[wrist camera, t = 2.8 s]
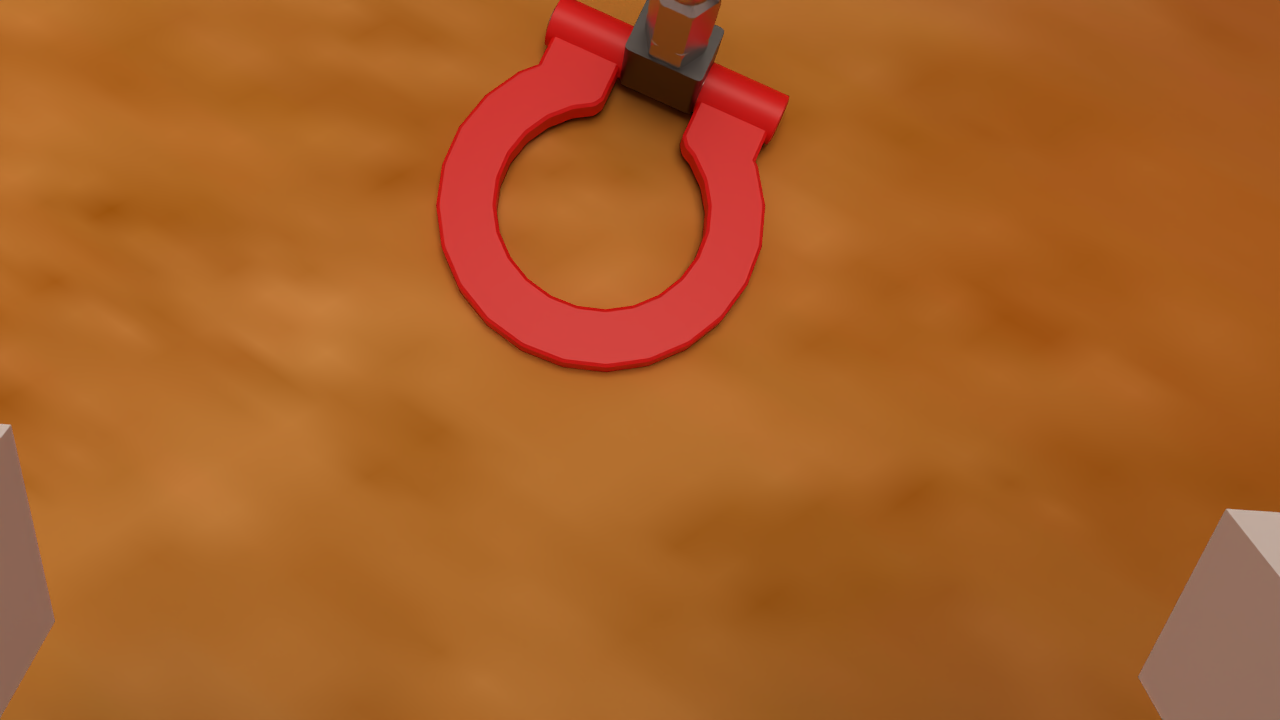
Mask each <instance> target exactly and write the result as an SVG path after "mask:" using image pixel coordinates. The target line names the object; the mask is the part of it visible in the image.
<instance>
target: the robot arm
mask: <svg viewBox="0 0 1280 720" xmlns="http://www.w3.org/2000/svg"><path fill="white" fill-rule="evenodd" d="M54 622H55V619H54V615H53V610H52V606H51V601H50V597H49V592H48V588H47V583H46V579H45V574H44V570H43V566H42V561H41V557H40V552H39V548H38V543H37V539H36V534H35V530H34V525H33V521H32V516H31V512H30V508H29V503H28V499H27V494H26V490H25V485H24V481H23V476H22V472H21V467H20V463H19V458H18V454H17V449H16V445H15V441H14V436H13V432H12V427H11V425H7V424H0V717H1V716H2V714H3V712H4V710H5V709H6V707H7V705H8V703H9V701H10V700H11V698H12V696H13V694H14V693H15V691H16V689H17V687H18V686H19V684H20V682H21V680H22V679H23V677H24V675H25V673H26V671H27V670H28V668H29V666H30V664H31V663H32V661H33V659H34V657H35V656H36V654H37V652H38V650H39V648H40V647H41V645H42V643H43V641H44V640H45V638H46V636H47V634H48V633H49V631H50V629H51V627H52V626H53V624H54ZM1138 678H1139V679H1140V681H1141V683H1142V685H1143V687H1144V688H1145V690H1146V692H1147V694H1148V695H1149V697H1150V699H1151V701H1152V702H1153V704H1154V706H1155V708H1156V710H1157V711H1158V713H1159V715H1160V717H1161V718H1162V720H1280V513H1279V512H1265V511H1250V510H1236V509H1226V510H1225V512H1224V513H1223V515H1222V517H1221V519H1220V521H1219V523H1218V525H1217V527H1216V529H1215V531H1214V533H1213V534H1212V536H1211V538H1210V540H1209V542H1208V544H1207V546H1206V548H1205V550H1204V552H1203V554H1202V555H1201V557H1200V559H1199V561H1198V563H1197V565H1196V567H1195V569H1194V571H1193V573H1192V575H1191V576H1190V578H1189V580H1188V582H1187V584H1186V586H1185V588H1184V590H1183V592H1182V594H1181V596H1180V598H1179V599H1178V601H1177V603H1176V605H1175V607H1174V609H1173V611H1172V613H1171V615H1170V617H1169V619H1168V620H1167V622H1166V624H1165V626H1164V628H1163V630H1162V632H1161V634H1160V636H1159V638H1158V640H1157V641H1156V643H1155V645H1154V647H1153V649H1152V651H1151V653H1150V655H1149V657H1148V659H1147V661H1146V662H1145V664H1144V666H1143V668H1142V670H1141V672H1140V674H1139V676H1138Z"/></svg>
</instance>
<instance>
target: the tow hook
mask: <svg viewBox="0 0 1280 720" xmlns="http://www.w3.org/2000/svg"><path fill="white" fill-rule="evenodd" d="M720 5H721V0H647V1H646V3H645V5H644V7H643V9H642V11H641V13H640V15H639V17H638V19H637V22H636V24H635V26H632V25H630V24H627V23H625V22H623V21H621V20H618V19H616V18H614V17H612V16H610V15H607V14H605V13H603V12H601V11H598V10H596V9H594V8H592V7H590V6H587V5H585V4H583V3H581V2H578V1H576V0H560V1H559V3H558V4H557V6H556V8H555V9H554V11H553V13H552V15H551V18H550V20H549V23H548V27H547V31H546V37H545V45H546V46H548V47H547V49H546V51H545V53H544V55H543V57H542V59H541V61H540V63H539V64H538V65H535V66H533V67H530V68H527V69H525V70H522V71H519V72H518V73H516V74H515V75H514V76H512V77H511V78H509V79H508V80H506V81H505V82H504V83H502V84H501V85H499V86H498V87H496V88H495V89H494V90H492V91H491V92H489V93H488V94H487V95H485V96H484V98H483V99H482V100H481V101H480V102H479V104H478V105H477V106H476V107H475V108H474V110H473V111H472V112H471V113H470V114H469V116H468V117H467V118H466V119H465V120H464V122H463V123H462V124H461V125H460V126H459V128H458V131H457V133H456V135H455V137H454V139H453V142H452V144H451V146H450V148H449V151H448V153H447V155H446V157H445V160H444V162H443V164H442V170H441V177H440V184H439V190H438V197H437V204H436V207H437V214H438V222H439V230H440V237H441V245H442V249H443V252H444V255H445V257H446V260H447V262H448V264H449V267H450V269H451V271H452V274H453V276H454V278H455V281H456V283H457V285H458V288H459V290H460V292H461V293H462V295H463V296H464V297H465V298H466V300H467V301H468V302H469V303H470V305H471V306H472V307H473V308H474V310H475V311H476V312H477V313H478V315H479V316H480V317H481V318H482V320H483V321H484V322H485V323H486V325H487V326H489V327H490V328H491V329H493V330H494V331H496V332H497V333H498V334H500V335H501V336H502V337H504V338H505V339H506V340H508V341H509V342H511V343H512V344H513V345H515V346H516V347H517V348H519V349H520V350H521V351H524V352H526V353H529V354H531V355H534V356H536V357H539V358H541V359H544V360H546V361H549V362H551V363H554V364H557V365H559V366H562V367H568V368H577V369H585V370H593V371H601V372H609V371H616V370H623V369H630V368H637V367H644V366H649V365H651V364H653V363H656V362H658V361H660V360H663V359H665V358H668V357H670V356H672V355H675V354H677V353H679V352H682V351H684V350H686V349H688V348H689V347H690V346H691V345H693V344H694V343H695V342H697V341H698V340H699V339H700V338H702V337H703V336H704V335H705V334H707V333H708V332H709V331H710V330H712V329H713V328H714V327H715V326H717V325H718V324H719V323H720V322H721V320H722V319H723V318H724V316H725V315H726V314H727V312H728V311H729V309H730V308H731V307H732V305H733V304H734V303H735V301H736V300H737V299H738V297H739V296H740V294H741V293H742V292H743V290H744V289H745V288H746V286H747V285H748V282H749V279H750V277H751V274H752V271H753V269H754V266H755V263H756V260H757V258H758V255H759V252H760V250H761V247H762V237H763V225H764V213H765V203H764V198H763V192H762V187H761V182H760V176H759V171H758V166H757V164H756V162H755V161H756V159H757V156H758V154H759V152H760V150H761V147H762V145H763V143H765V144H768V143H769V142H770V141H771V139H772V137H773V135H774V133H775V131H776V129H777V127H778V124H779V122H780V120H781V118H782V116H783V113H784V111H785V109H786V106H787V104H788V101H789V96H788V95H786V94H783V93H781V92H779V91H777V90H774V89H772V88H770V87H768V86H765V85H763V84H761V83H759V82H757V81H754V80H752V79H750V78H748V77H745V76H743V75H741V74H739V73H737V72H734V71H732V70H730V69H728V68H725V67H723V66H721V65H719V64H716V63H714V60H715V57H716V55H717V52H718V49H719V46H720V43H721V40H722V37H723V34H724V30H723V29H722V28H721V27H719V26H716V25H714V24H715V21H716V18H717V15H718V12H719V8H720ZM617 78H620V82H621V84H623V85H624V86H626V87H629V88H631V89H633V90H635V91H637V92H640V93H642V94H644V95H646V96H649V97H651V98H653V99H655V100H658V101H660V102H662V103H664V104H666V105H669V106H671V107H673V108H675V109H678V110H680V111H682V112H684V113H687V114H690V113H692V111H694V112H693V115H692V117H691V119H690V121H689V123H688V126H687V128H686V130H685V132H684V134H683V137H682V140H681V143H680V149H681V154H682V156H683V157H684V159H685V160H686V161H687V162H688V163H689V165H690V167H691V169H692V171H693V173H694V175H695V178H696V180H697V182H698V184H699V186H700V189H701V194H702V200H703V206H704V211H705V217H704V228H703V238H702V242H701V244H700V247H699V249H698V252H697V255H696V257H695V259H694V261H693V262H692V263H691V265H690V266H689V267H688V269H687V270H686V271H685V273H684V274H683V276H682V277H681V278H680V279H679V280H678V281H676V282H675V283H674V284H672V285H671V286H670V287H669V288H667V289H666V290H665V291H663V292H662V293H661V294H660V295H658V296H655V297H653V298H651V299H648V300H646V301H643V302H641V303H639V304H636V305H634V306H628V307H620V308H613V309H606V310H605V309H597V308H589V307H581V306H576V305H573V304H571V303H568V302H566V301H563V300H560V299H558V298H555V297H553V296H551V295H549V294H548V293H546V292H545V291H544V290H542V289H541V288H540V287H538V286H537V285H536V284H534V283H533V282H531V281H530V280H529V279H528V278H527V277H526V276H525V275H524V273H523V272H522V271H521V270H520V268H519V267H518V266H517V265H516V264H515V262H514V261H513V260H512V259H511V257H510V255H509V253H508V250H507V248H506V246H505V244H504V241H503V239H502V237H501V234H500V232H499V225H498V218H497V207H498V200H499V193H500V187H501V184H502V182H503V180H504V177H505V175H506V173H507V170H508V168H509V166H510V164H511V162H512V161H513V160H514V158H515V157H516V156H517V155H518V154H519V152H520V151H521V150H522V149H523V147H524V146H525V145H526V144H527V143H528V142H529V141H531V140H532V139H533V138H535V137H536V136H537V135H539V134H540V133H542V132H543V131H544V130H546V129H547V128H549V127H551V126H554V125H557V124H559V123H562V122H565V121H567V120H570V119H572V118H580V117H588V116H594V115H596V114H597V113H598V112H600V111H601V110H602V109H603V107H604V105H605V103H606V101H607V99H608V96H609V94H610V92H611V90H612V88H613V86H614V84H615V82H616V80H617Z"/></svg>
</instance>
